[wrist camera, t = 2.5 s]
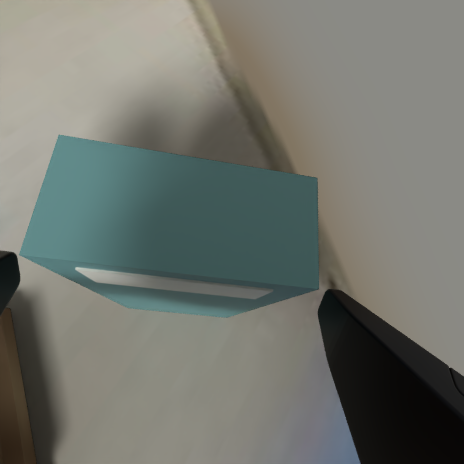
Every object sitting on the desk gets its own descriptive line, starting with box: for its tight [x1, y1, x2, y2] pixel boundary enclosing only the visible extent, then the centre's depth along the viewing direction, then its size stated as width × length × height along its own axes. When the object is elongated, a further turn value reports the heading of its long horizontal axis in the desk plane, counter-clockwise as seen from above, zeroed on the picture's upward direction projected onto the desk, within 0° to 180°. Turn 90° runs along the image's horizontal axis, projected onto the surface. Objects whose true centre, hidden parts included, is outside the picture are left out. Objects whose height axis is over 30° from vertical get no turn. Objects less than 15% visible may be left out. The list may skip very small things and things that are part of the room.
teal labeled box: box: [19, 135, 319, 318], centre depth 12 cm, size 3×6×12 cm, turn 85°
